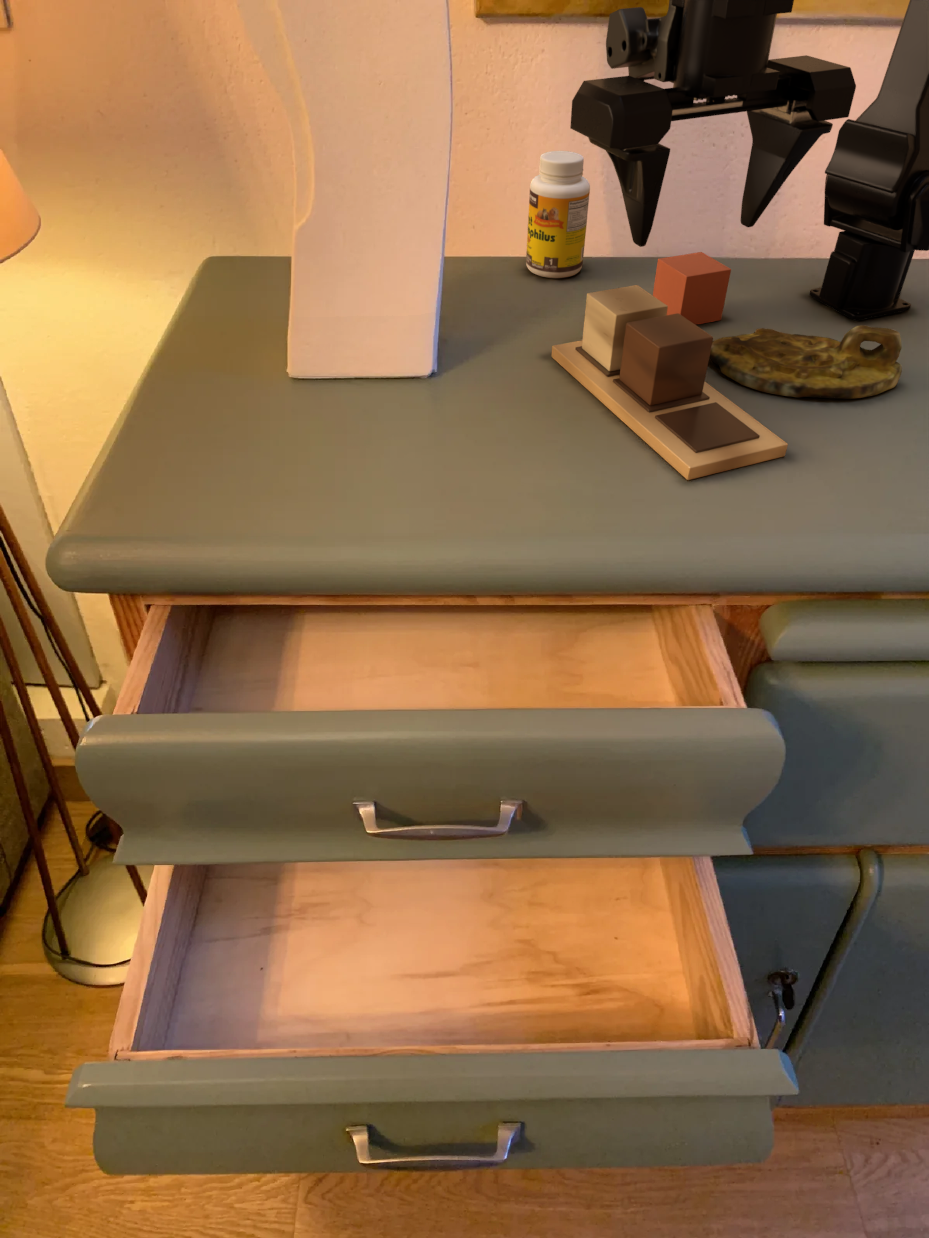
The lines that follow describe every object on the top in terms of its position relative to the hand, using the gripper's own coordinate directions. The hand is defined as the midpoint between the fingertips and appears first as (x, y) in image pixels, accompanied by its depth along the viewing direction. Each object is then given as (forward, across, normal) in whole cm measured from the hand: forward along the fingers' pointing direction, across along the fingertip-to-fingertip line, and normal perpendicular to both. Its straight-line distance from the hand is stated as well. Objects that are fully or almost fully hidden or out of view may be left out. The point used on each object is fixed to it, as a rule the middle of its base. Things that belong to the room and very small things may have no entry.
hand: (693, 235), depth 64 cm
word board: (+10, +4, +4) cm, 12 cm away
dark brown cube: (+9, +4, +4) cm, 11 cm away
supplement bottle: (+11, -2, -23) cm, 25 cm away
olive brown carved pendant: (+11, -9, +4) cm, 15 cm away
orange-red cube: (+11, -7, -9) cm, 16 cm away
